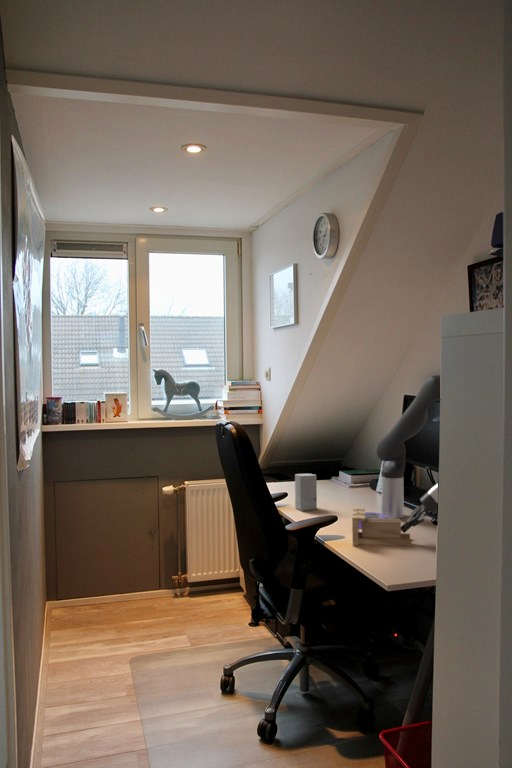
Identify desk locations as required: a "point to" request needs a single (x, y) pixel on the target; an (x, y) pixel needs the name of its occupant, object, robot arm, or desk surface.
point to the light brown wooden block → (381, 528)
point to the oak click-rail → (357, 538)
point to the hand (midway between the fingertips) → (402, 530)
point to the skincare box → (305, 492)
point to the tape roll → (372, 515)
